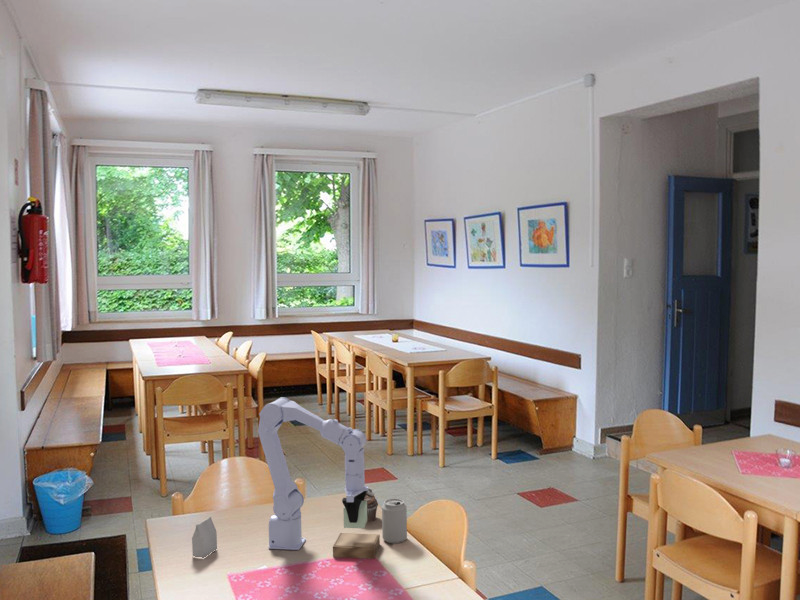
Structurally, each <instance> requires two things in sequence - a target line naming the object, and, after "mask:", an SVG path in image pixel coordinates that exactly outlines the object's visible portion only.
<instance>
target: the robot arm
mask: <svg viewBox="0 0 800 600" xmlns="http://www.w3.org/2000/svg"><path fill="white" fill-rule="evenodd" d="M258 415H259V422H258V423H259V424H258V428H257V433H258V437H259V440H260V443H261V446H262V450H263V454H264V456H265V460H266V463H267V466H268V470H269V474H270V477H271V480H272V484H273V487H274V489H273V494H272V499H273V500H272V501H273V507H272V508H273V510H272V511H273V513H274V514H272V515H271V516H270V518H269V521H268V549H269V550H270V549H271V550H286V551H287V550H289V551H291V550H292V551H299V550H300V549H301V548H302V546H303V545H304V543H305V541H306V540H307V538H306V537H302V536H303V534H302V530H303V529H302V512H301V508H302V507H303V505H304V503H305V499H304V495H303V493H302V492H301V491H300V490H299V488H298V485H297V484H296V483H295V482H294V481H293V480H292V477H291V474H290V469H289V467H288V464H287V460H286V456H285V453H284V451H283V447H282V444H281V443H282V442H281V439H280V436H279V434H278V431H279V429H280V427H281V426H282V425H283V423H286V422H291V421H296V422H299V423H301V424H303V425H306V426H309V427H310V428H312V429H314V430H316V431H319V433H320V435H321V437H322V438H323V439H326V440H327V441H330V442H332V443H334V444H336V445H337V446H340V447H341V449H342V450H343V452H344V482H345V483H344V485H345V486H344V492H345V495H346V497H343V498H342V499H341V503H342V504H343V507H344V506H345V508H346V511H347V514H348V518H349V522H350V523H357V520H358V513H359V507H360V504H361V502H362V501H364V498H365V495H366V493H367V491H368V490H369V489H370V488H369V486H366V480H365V478H366V477H365V474H366V473H365V448H364V446H365V445H366V443H367V437H366V434H365V433H364V432H363V431H361V430H360V429H359V428H356V429H355V428H352V427H351V426H350V427H349V426H345V425H344V424H342V423H340V422H339V420H338V419H336V418H334V419H332V418H329V419H326V420H325V419H323V418H321V417H320V416H318V415H316V414H315V413H313V412H312V411H310V410H307V408H304V407H303V406H301V405H299V404H298V403H297V402H296V401H294V400H290V399H289V398H287V397H282V396H281V397H279V398H277V399H275V400H274V401H272V402H269V403H267V404H265V405H264V406H263V408H262V409H261V410H260V412H259V413H258Z"/></svg>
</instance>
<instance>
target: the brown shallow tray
mask: <svg viewBox="0 0 800 600" xmlns="http://www.w3.org/2000/svg"><path fill="white" fill-rule="evenodd" d="M380 537H381V536H380V534H374V533H373V534H371V533H369V534H368V533H347V532H340V533H339V535H338V536H337V539H336V540H335V542H334V544H333V546H332V557H333V558H350V559H369V560H370V559H373V560H374V559H375V557H376V554H377V552H378V549H379V547H380V544H381V543H380V542H381V540H380Z"/></svg>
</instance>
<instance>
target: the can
mask: <svg viewBox="0 0 800 600" xmlns="http://www.w3.org/2000/svg"><path fill="white" fill-rule="evenodd" d="M407 516H408V515H407V504H405V500H404V499H401V498H387V499H385V500H384V501H383V504H382V506H381V518H382V519H381V525H382V526H381V527H382V528H381V530H382V535H381V536H382V539H383V540H384V541H385V542H386V543H388V544H400V543H402V542H403V543H404V541H405V540H406V539H408V527H407V526H408V519H407V518H408V517H407Z"/></svg>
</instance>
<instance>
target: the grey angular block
mask: <svg viewBox="0 0 800 600" xmlns="http://www.w3.org/2000/svg"><path fill="white" fill-rule="evenodd" d="M217 540H218V535H217V529H216V527H215V524H214V522H213V519H212V516H208V517H207V518H206V519H204V520H202V521H201V522H199V523H197V524H196V525H195V530H194V531H193V534H192V537H191V545H192V548H191V549H192V550H191V552H192V557H193V556H195V557H202V558H204V557H206V556H207V555H209V554H210V553H211V552H213V551H214V550H216V549H217V550H218V541H217ZM209 556H210V555H209Z"/></svg>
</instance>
